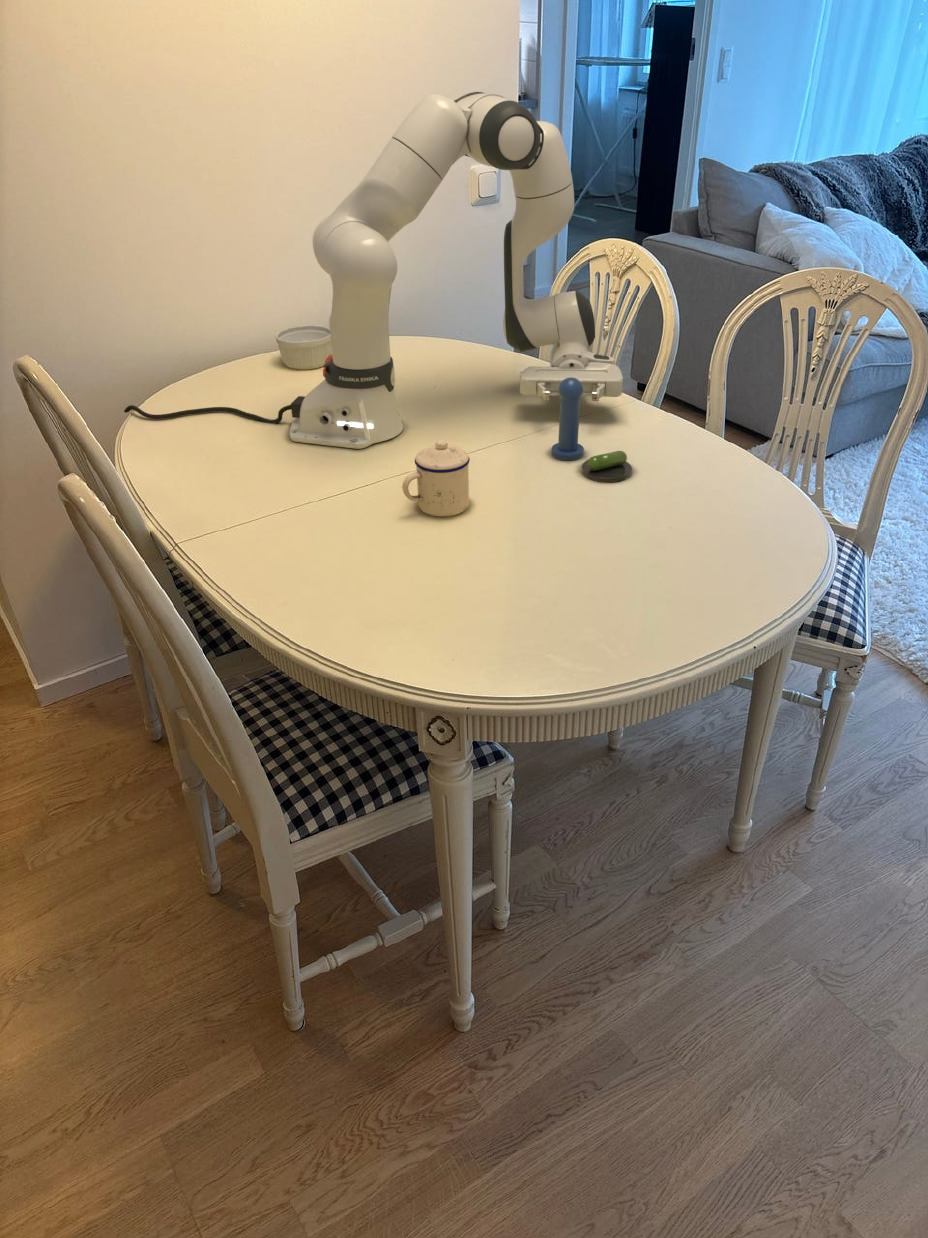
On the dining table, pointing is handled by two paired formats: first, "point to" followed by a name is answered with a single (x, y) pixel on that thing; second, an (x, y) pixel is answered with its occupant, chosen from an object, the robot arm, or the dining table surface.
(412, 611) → the dining table surface
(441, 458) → the teacup with lid
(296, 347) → the ramekin
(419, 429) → the dining table surface
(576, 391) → the blue handle
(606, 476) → the pickle
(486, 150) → the robot arm
